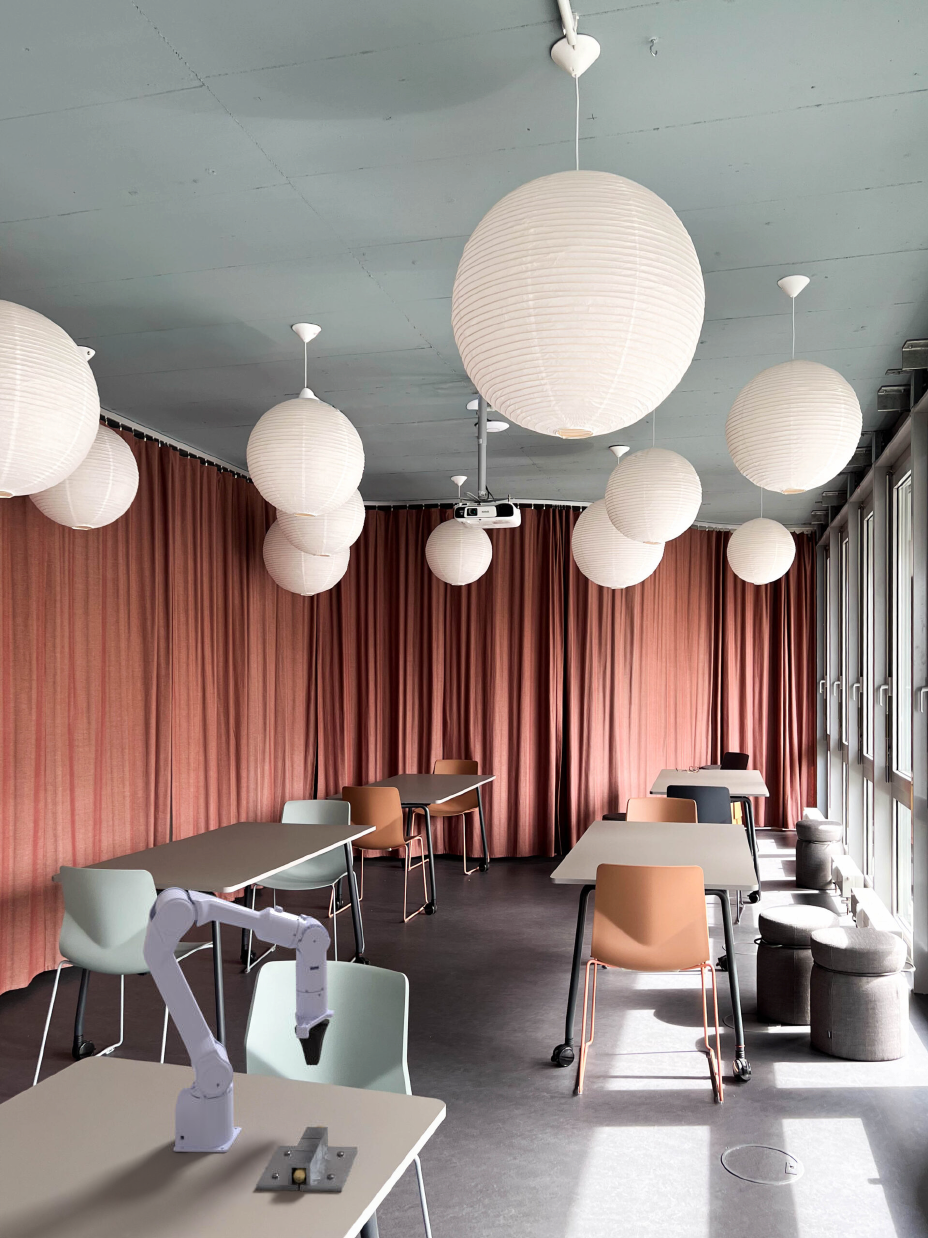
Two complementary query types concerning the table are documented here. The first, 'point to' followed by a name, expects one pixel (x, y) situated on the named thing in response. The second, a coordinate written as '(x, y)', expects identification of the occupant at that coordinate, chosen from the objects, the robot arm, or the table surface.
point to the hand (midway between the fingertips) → (312, 1064)
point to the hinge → (309, 1164)
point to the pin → (300, 1173)
